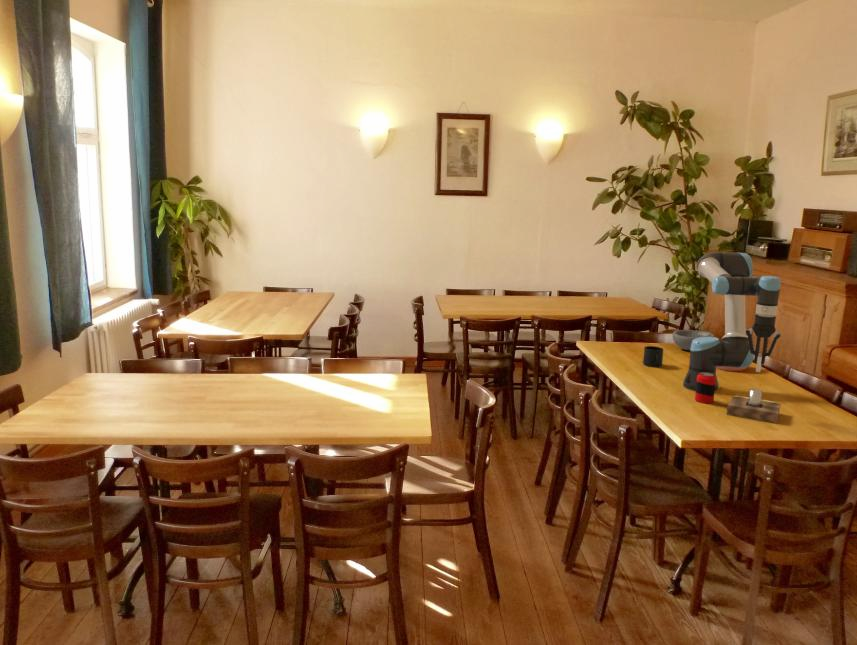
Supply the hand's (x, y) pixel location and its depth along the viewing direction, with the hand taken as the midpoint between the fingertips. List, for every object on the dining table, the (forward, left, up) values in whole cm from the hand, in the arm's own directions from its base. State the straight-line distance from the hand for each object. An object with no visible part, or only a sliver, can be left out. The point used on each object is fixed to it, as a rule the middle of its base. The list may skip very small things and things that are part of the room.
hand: (758, 371), depth 269 cm
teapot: (-20, +71, -17) cm, 75 cm away
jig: (0, -4, -17) cm, 18 cm away
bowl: (-43, +103, -17) cm, 112 cm away
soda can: (-20, +3, -17) cm, 26 cm away
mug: (-53, +52, -17) cm, 76 cm away
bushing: (0, -5, -17) cm, 18 cm away
